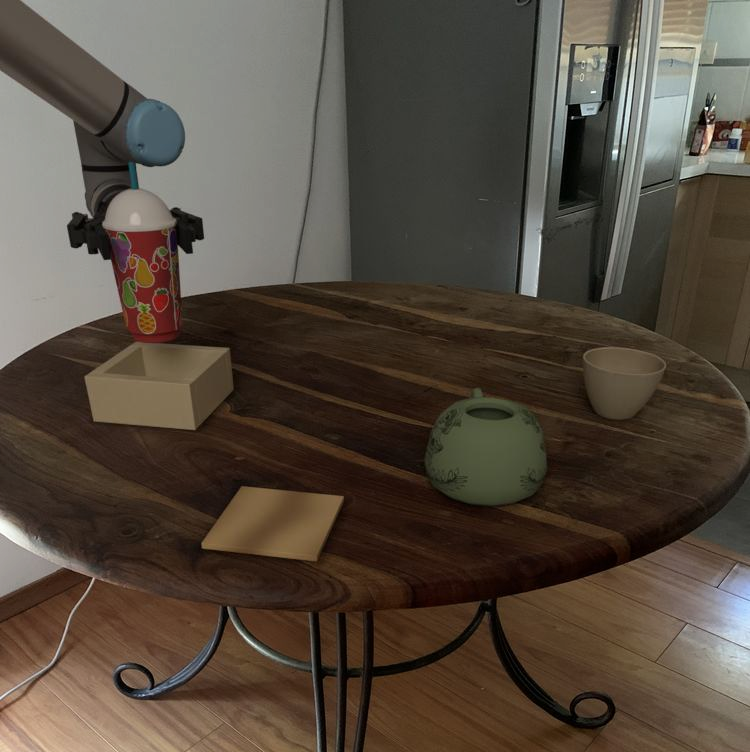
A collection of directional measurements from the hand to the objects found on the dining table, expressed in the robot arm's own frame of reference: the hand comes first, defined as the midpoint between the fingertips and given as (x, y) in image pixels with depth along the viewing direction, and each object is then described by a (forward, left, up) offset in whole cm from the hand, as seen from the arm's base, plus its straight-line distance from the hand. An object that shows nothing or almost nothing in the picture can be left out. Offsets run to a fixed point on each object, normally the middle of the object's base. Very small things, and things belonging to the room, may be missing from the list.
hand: (147, 244), depth 82 cm
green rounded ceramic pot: (+39, -8, -21) cm, 46 cm away
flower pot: (+55, +13, -22) cm, 61 cm away
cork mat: (+20, -22, -21) cm, 37 cm away
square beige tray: (-3, +4, -21) cm, 22 cm away
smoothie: (-3, +4, -12) cm, 13 cm away
